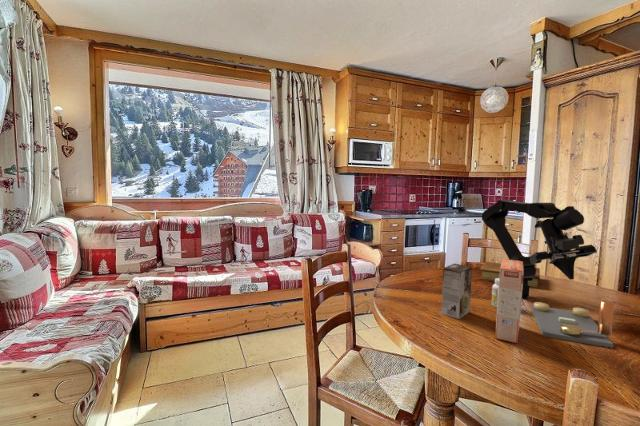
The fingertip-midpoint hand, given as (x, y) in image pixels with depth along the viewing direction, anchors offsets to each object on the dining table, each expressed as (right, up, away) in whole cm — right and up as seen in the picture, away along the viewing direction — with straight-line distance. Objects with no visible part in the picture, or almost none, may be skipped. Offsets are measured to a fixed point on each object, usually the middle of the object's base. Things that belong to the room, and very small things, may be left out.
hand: (571, 279), depth 109 cm
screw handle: (-8, -13, -15) cm, 21 cm away
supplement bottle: (-18, -12, +11) cm, 24 cm away
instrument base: (-7, -13, -6) cm, 16 cm away
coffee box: (-37, -12, +3) cm, 40 cm away
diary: (+5, -10, +45) cm, 46 cm away
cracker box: (-28, -14, -11) cm, 33 cm away
